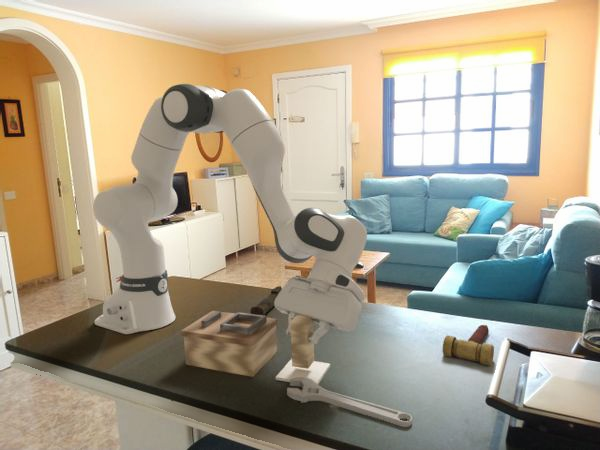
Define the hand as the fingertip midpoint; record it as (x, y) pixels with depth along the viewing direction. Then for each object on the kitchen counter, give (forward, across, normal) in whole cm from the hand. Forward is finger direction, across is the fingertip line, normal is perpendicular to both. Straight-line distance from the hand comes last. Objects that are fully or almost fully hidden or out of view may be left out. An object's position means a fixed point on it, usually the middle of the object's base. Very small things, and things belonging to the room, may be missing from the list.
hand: (300, 338), depth 93 cm
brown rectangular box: (+8, -17, +3) cm, 20 cm away
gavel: (-19, +24, +31) cm, 44 cm away
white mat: (+5, 0, +6) cm, 8 cm away
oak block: (+4, 0, +5) cm, 6 cm away
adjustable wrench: (+9, +14, +3) cm, 17 cm away
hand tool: (-11, -33, +23) cm, 42 cm away
